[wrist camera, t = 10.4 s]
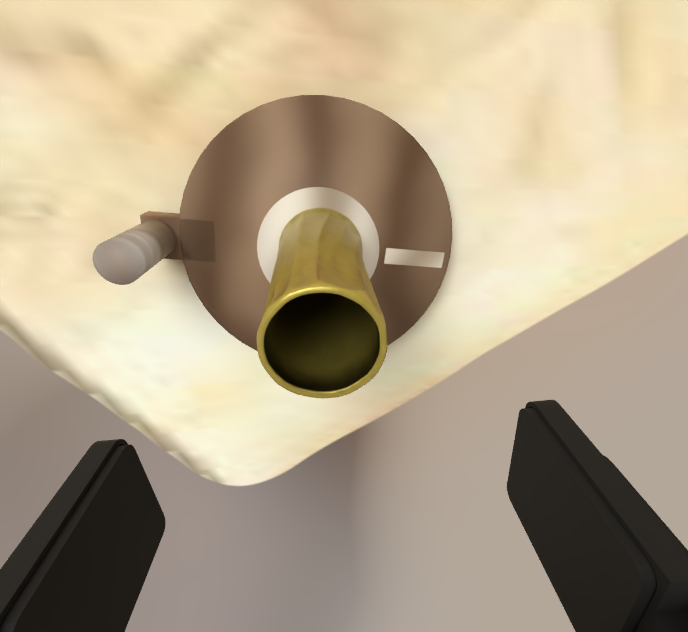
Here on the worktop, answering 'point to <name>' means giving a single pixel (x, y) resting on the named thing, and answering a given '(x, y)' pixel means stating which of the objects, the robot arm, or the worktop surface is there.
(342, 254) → the vase
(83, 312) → the worktop surface
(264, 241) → the turntable
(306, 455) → the worktop surface
